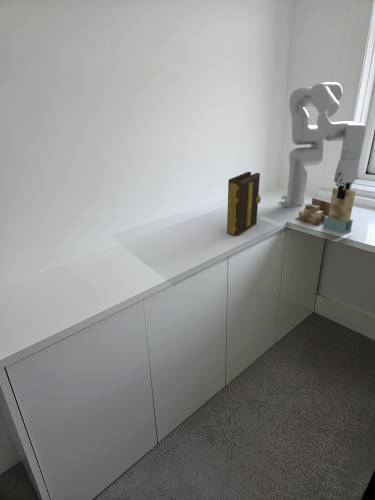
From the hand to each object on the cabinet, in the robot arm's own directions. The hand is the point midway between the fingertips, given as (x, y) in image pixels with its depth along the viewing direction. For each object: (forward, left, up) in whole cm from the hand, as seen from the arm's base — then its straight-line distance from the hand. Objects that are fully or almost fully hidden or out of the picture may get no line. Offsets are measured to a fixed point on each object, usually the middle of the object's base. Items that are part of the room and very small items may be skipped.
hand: (342, 197), depth 144 cm
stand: (0, 0, -16) cm, 16 cm away
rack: (-14, +2, -16) cm, 21 cm away
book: (-30, -31, -16) cm, 46 cm away
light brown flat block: (0, 0, -10) cm, 10 cm away
